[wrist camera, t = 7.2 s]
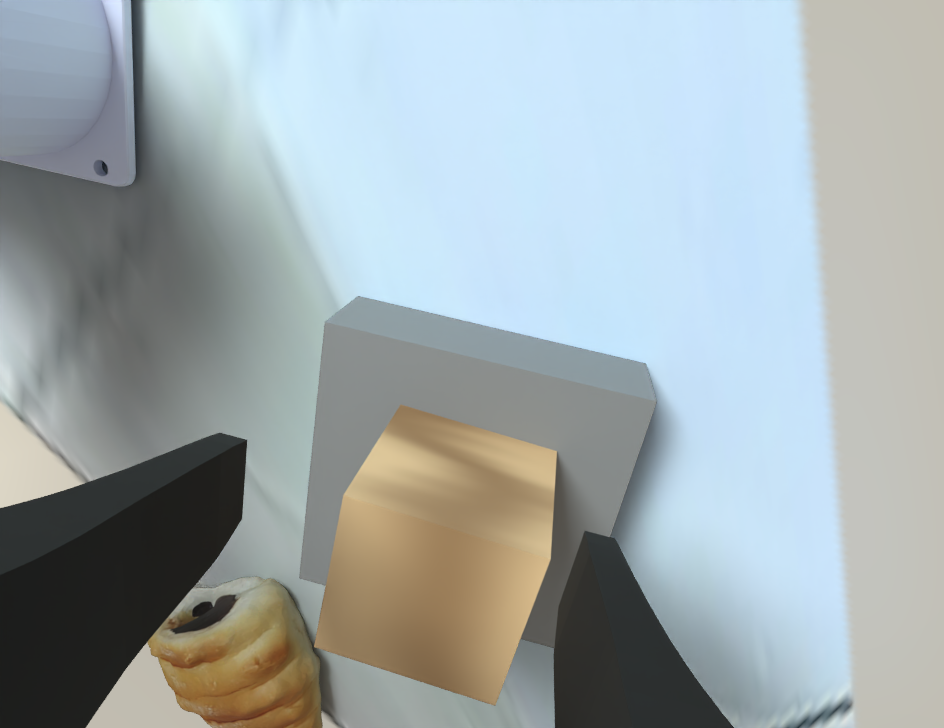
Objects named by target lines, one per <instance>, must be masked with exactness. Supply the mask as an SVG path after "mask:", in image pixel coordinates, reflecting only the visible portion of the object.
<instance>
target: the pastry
mask: <svg viewBox="0 0 944 728" xmlns="http://www.w3.org/2000/svg"><path fill="white" fill-rule="evenodd" d="M148 645H149V647H150V648H151V655H153V656H155V657H158V659H159V662H160V665H161V667H162V670H163V673H164V676H165V678H166V680H167V682H168V685H169V686H170V687H171V688H172V689H173V690H174V692H175V695H176V699H177V702H178V704H179V705H180V707H181V708H182V709H184V710H186V711H188V712H194V713H196V714H199V715H200V716H201V717H202V718H203V719H204V720H205V721H206V722H207V724H209V725H210V726H211V727H212V728H322V718H321V706H320V704H321V700H322V699H321V692H320V685H319V671H320V660H319V657H318V656H317V655H316V654H315V653H314V652H313V649H312V644H311V641H310V639H309V637H308V634H307V631H306V629H305V625H304V621H303V619H302V617H301V615H300V613H299V611H298V609H297V607H296V605H295V603H294V601H293V599H292V598H291V596H290V595H289V593H288V592H287V590H286V589H285V587H284V586H282V585H281V584H280V583H279V582H277V581H276V580H274V579H266V580H265V579H262V578H260V577H243V578H238V579H236V580H234V581H230V582H226V583H224V584H222V585H220V586H218V587H215V588H192V589H191V591H190V592H189V593H188V594H187V595H186V596H185V598H184V599H183V600H182V601H181V602H180V604H179V605H178V606H177V607H176V608H175V610H174V611H173V612H172V613H171V614H170V615H169V617H168V618H167V619H166V620H165V621H164V623H163V624H162V625H161V626H160V627H159V629H158V630H157V631H156V632H155V633H154V634H153V636H152V637H151V638H150V639H149V640H148Z"/></svg>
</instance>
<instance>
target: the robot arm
mask: <svg viewBox="0 0 944 728" xmlns="http://www.w3.org/2000/svg"><path fill="white" fill-rule="evenodd" d="M0 160H2V161H6V162H11V163H15V164H20V165H24V166H28V167H33V168H37V169H41V170H46V171H50V172H55V173H59V174H63V175H68V176H72V177H77V178H81V179H85V180H90V181H94V182H99V183H103V184H107V185H112V186H116V187H122V186H128V185H130V184H132V183H133V181H134V180H135V175H136V164H135V128H134V92H133V56H132V20H131V0H0ZM103 161H104V162H105V164H106V165H107V167H108V173H107V174H106V173H105V172H104V171H103V168H102V162H103ZM246 449H247V440H245V439H241V438H237V437H234V436H230V435H226V434H222V433H218V434H215V435H212V436H209V437H206V438H203V439H201V440H198V441H195V442H193V443H190V444H188V445H185V446H183V447H180V448H178V449H175V450H173V451H170V452H168V453H165V454H163V455H160V456H158V457H155V458H153V459H150V460H148V461H145V462H143V463H140V464H137V465H135V466H132V467H130V468H127V469H125V470H122V471H119V472H116V473H113V474H110V475H108V476H105V477H102V478H99V479H96V480H93V481H91V482H88V483H85V484H82V485H79V486H76V487H74V488H70V489H67V490H64V491H61V492H58V493H54V494H51V495H48V496H44V497H41V498H38V499H34V500H30V501H27V502H23V503H19V504H15V505H12V506H8V507H4V508H0V728H86V726H87V725H88V723H89V722H90V720H91V719H92V717H93V716H94V714H95V713H96V711H97V710H98V708H99V707H100V705H101V704H102V703H103V701H104V700H105V698H106V697H107V695H108V694H109V693H110V691H111V690H112V688H113V687H114V685H115V684H116V682H117V681H118V679H119V678H120V677H121V675H122V674H123V672H124V671H125V669H126V668H127V667H128V665H129V664H130V663H131V662H132V660H133V659H134V658H135V656H136V655H137V654H138V653H139V651H140V650H141V649H142V647H143V646H144V645H145V644H146V643H147V642H148V640H149V639H150V638H151V637H152V636H153V634H154V633H155V632H156V631H157V630H158V629H159V627H160V626H161V625H162V624H163V623H164V621H165V620H166V619H167V618H168V617H169V615H170V614H171V613H172V612H173V611H174V610H175V608H176V607H177V606H178V605H179V604H180V602H181V601H182V600H183V599H184V598H185V596H186V595H187V594H188V593H189V592H190V591H191V589H192V588H193V587H194V586H195V585H196V583H197V582H198V581H199V580H200V578H201V577H202V576H203V575H204V574H205V572H206V571H207V570H208V569H209V568H210V566H211V565H212V564H213V563H214V561H215V560H216V559H217V557H218V556H219V554H220V553H221V551H222V550H223V548H224V547H225V545H226V544H227V542H228V541H229V539H230V537H231V536H232V534H233V532H234V531H235V529H236V528H237V526H238V524H239V523H240V521H241V519H242V510H243V495H244V480H245V464H246ZM554 700H555V728H734V727H733V726H732V725H731V724H730V722H729V721H728V720H727V719H726V717H725V716H724V715H723V714H722V713H721V711H720V710H719V709H718V707H717V706H716V705H715V703H714V702H713V701H712V699H711V698H710V697H709V695H708V694H707V693H706V691H705V690H704V689H703V687H702V686H701V685H700V684H699V682H698V681H697V679H696V678H695V677H694V675H693V674H692V672H691V671H690V670H689V668H688V667H687V665H686V664H685V662H684V661H683V659H682V658H681V656H680V655H679V653H678V651H677V650H676V648H675V647H674V645H673V644H672V642H671V641H670V639H669V637H668V636H667V634H666V632H665V631H664V629H663V627H662V626H661V624H660V622H659V621H658V619H657V617H656V615H655V614H654V612H653V610H652V608H651V607H650V605H649V603H648V601H647V599H646V598H645V596H644V594H643V592H642V590H641V588H640V586H639V585H638V583H637V581H636V579H635V577H634V575H633V573H632V571H631V569H630V567H629V565H628V563H627V561H626V559H625V557H624V555H623V553H622V551H621V549H620V547H619V545H618V544H617V542H616V540H615V538H611V537H607V536H603V535H600V534H596V533H592V532H588V531H584V534H583V537H582V540H581V543H580V546H579V549H578V551H577V554H576V557H575V560H574V563H573V566H572V569H571V572H570V575H569V577H568V580H567V583H566V586H565V589H564V592H563V595H562V598H561V601H560V603H559V606H558V616H557V625H556V635H555V646H554Z"/></svg>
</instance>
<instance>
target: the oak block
mask: <svg viewBox="0 0 944 728" xmlns="http://www.w3.org/2000/svg"><path fill="white" fill-rule="evenodd" d="M556 459H557V451H555V450H551V449H548V448H545V447H541V446H538V445H535V444H531V443H528V442H525V441H521V440H518V439H515V438H511V437H508V436H504V435H501V434H498V433H494V432H491V431H488V430H484V429H481V428H478V427H474V426H471V425H468V424H464V423H461V422H458V421H454V420H451V419H448V418H444V417H441V416H438V415H434V414H431V413H428V412H424V411H421V410H418V409H414V408H411V407H408V406H404V405H400V406H399V408H398V409H397V411H396V413H395V414H394V416H393V417H392V419H391V420H390V422H389V424H388V425H387V427H386V428H385V430H384V432H383V433H382V435H381V436H380V438H379V439H378V441H377V443H376V444H375V446H374V447H373V449H372V451H371V452H370V454H369V455H368V457H367V458H366V460H365V462H364V463H363V465H362V466H361V468H360V470H359V471H358V473H357V474H356V476H355V477H354V479H353V481H352V482H351V484H350V485H349V487H348V489H347V490H346V492H345V493H344V495H343V499H342V505H341V510H340V515H339V520H338V525H337V530H336V536H335V541H334V546H333V551H332V556H331V561H330V567H329V572H328V577H327V582H326V587H325V592H324V598H323V603H322V608H321V613H320V618H319V624H318V629H317V634H316V639H315V644H314V647H316V648H319V649H322V650H325V651H328V652H331V653H334V654H337V655H341V656H344V657H347V658H350V659H353V660H356V661H359V662H362V663H365V664H368V665H371V666H374V667H377V668H381V669H384V670H387V671H390V672H393V673H396V674H399V675H402V676H405V677H408V678H411V679H414V680H417V681H421V682H424V683H427V684H430V685H433V686H436V687H439V688H442V689H445V690H448V691H451V692H454V693H458V694H461V695H464V696H467V697H470V698H473V699H476V700H479V701H482V702H485V703H488V704H491V705H494V706H495V705H496V702H497V699H498V697H499V694H500V691H501V689H502V686H503V683H504V681H505V678H506V676H507V673H508V670H509V668H510V665H511V662H512V660H513V657H514V655H515V652H516V649H517V647H518V644H519V641H520V639H521V636H522V633H523V631H524V628H525V626H526V623H527V620H528V618H529V615H530V612H531V610H532V607H533V604H534V602H535V599H536V597H537V594H538V591H539V589H540V586H541V583H542V581H543V578H544V576H545V573H546V570H547V568H548V565H549V562H550V560H551V544H552V527H553V510H554V493H555V476H556Z"/></svg>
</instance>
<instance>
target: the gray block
mask: <svg viewBox="0 0 944 728" xmlns="http://www.w3.org/2000/svg"><path fill="white" fill-rule="evenodd" d="M656 403H657V400H656V396H655V393H654V390H653V386H652V383H651V379H650V376H649V373H648V369H647V366H646V364H645V363H640V362H636V361H632V360H628V359H623V358H619V357H615V356H611V355H606V354H602V353H598V352H594V351H589V350H585V349H581V348H577V347H572V346H568V345H564V344H560V343H555V342H551V341H547V340H543V339H538V338H534V337H530V336H526V335H521V334H517V333H513V332H509V331H504V330H500V329H496V328H492V327H487V326H483V325H479V324H475V323H470V322H466V321H462V320H458V319H453V318H449V317H445V316H440V315H436V314H432V313H428V312H423V311H419V310H415V309H411V308H406V307H402V306H398V305H394V304H389V303H385V302H381V301H377V300H372V299H368V298H364V297H360V296H358V297H356V298H355V299H354V300H353V301H351V302H350V303H349V304H347V305H346V306H345V307H344V308H342V309H341V310H340V311H338V312H337V313H336V314H335V315H333V316H332V317H331V318H329V319H328V320H327V321H326V322H325V326H324V336H323V346H322V356H321V366H320V376H319V386H318V396H317V406H316V416H315V426H314V436H313V446H312V456H311V466H310V476H309V486H308V496H307V506H306V516H305V526H304V536H303V546H302V557H301V567H300V577H299V578H300V579H304V580H308V581H311V582H315V583H319V584H322V585H326V582H327V577H328V572H329V567H330V561H331V556H332V551H333V546H334V541H335V536H336V530H337V525H338V520H339V515H340V510H341V505H342V499H343V495H344V493H345V492H346V490H347V489H348V487H349V485H350V484H351V482H352V481H353V479H354V477H355V476H356V474H357V473H358V471H359V470H360V468H361V466H362V465H363V463H364V462H365V460H366V458H367V457H368V455H369V454H370V452H371V451H372V449H373V447H374V446H375V444H376V443H377V441H378V439H379V438H380V436H381V435H382V433H383V432H384V430H385V428H386V427H387V425H388V424H389V422H390V420H391V419H392V417H393V416H394V414H395V413H396V411H397V409H398V408H399V406H400V405H404V406H408V407H411V408H414V409H418V410H421V411H424V412H428V413H431V414H434V415H438V416H441V417H444V418H448V419H451V420H454V421H458V422H461V423H464V424H468V425H471V426H474V427H478V428H481V429H484V430H488V431H491V432H494V433H498V434H501V435H504V436H508V437H511V438H515V439H518V440H521V441H525V442H528V443H531V444H535V445H538V446H541V447H545V448H548V449H551V450H555V451H557V459H556V476H555V493H554V510H553V527H552V544H551V560H550V562H549V565H548V568H547V570H546V573H545V576H544V578H543V581H542V583H541V586H540V589H539V591H538V594H537V597H536V599H535V602H534V604H533V607H532V610H531V612H530V615H529V618H528V620H527V623H526V626H525V628H524V631H523V633H522V636H521V639H523V640H527V641H530V642H534V643H538V644H541V645H545V646H549V647H552V648H554V646H555V635H556V625H557V616H558V606H559V603H560V601H561V598H562V595H563V592H564V589H565V586H566V583H567V580H568V577H569V575H570V572H571V569H572V566H573V563H574V560H575V557H576V554H577V551H578V549H579V546H580V543H581V540H582V537H583V534H584V531H588V532H592V533H596V534H600V535H603V536H607V537H610V535H611V533H612V530H613V527H614V524H615V521H616V518H617V515H618V512H619V510H620V507H621V504H622V501H623V498H624V495H625V492H626V489H627V486H628V484H629V481H630V478H631V475H632V472H633V469H634V466H635V463H636V461H637V458H638V455H639V452H640V449H641V446H642V443H643V440H644V438H645V435H646V432H647V429H648V426H649V423H650V420H651V417H652V415H653V412H654V409H655V406H656Z"/></svg>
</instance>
